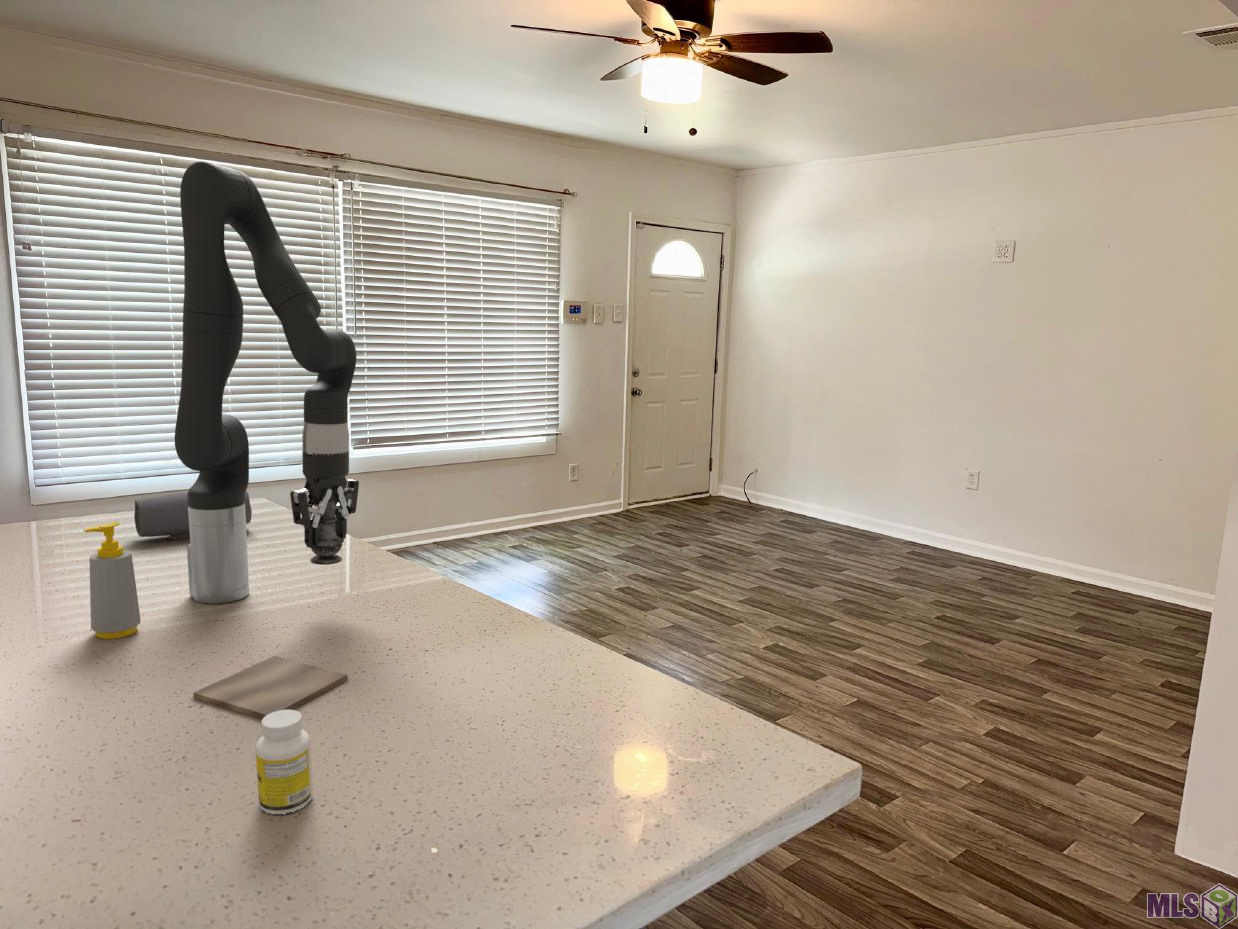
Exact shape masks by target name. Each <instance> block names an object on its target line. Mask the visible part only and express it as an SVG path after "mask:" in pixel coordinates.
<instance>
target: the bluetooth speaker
mask: <svg viewBox="0 0 1238 929" xmlns="http://www.w3.org/2000/svg"><path fill="white" fill-rule="evenodd" d="M187 494H188V492H184V493H175V494H167V495H161V496H151V497H145V498H142V499H141V498H140V499H137V500H135V501H134V512H133V513H134V514H133V516H134V517H133V518H134V524H135V529H136V533H137V535H138V536H139V537H140V538H141V537H142V538H144V537H145V538H150V537H153V538H154V537H167V536H168V537H169V538H170V539H171V540H178V539H185V538H186V539H187V538H190V531H189V516H188V500H187ZM252 514H253V513H252V506H251V501H250V495H249V492H248V491H247V490H246V492H245V515H246V525H248V524H250V523H251V520H252Z"/></svg>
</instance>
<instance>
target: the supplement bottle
mask: <svg viewBox="0 0 1238 929" xmlns="http://www.w3.org/2000/svg"><path fill="white" fill-rule="evenodd" d="M260 724H261V735H262V736H261V737H260V738H259V740H257V742H256V745H255V759H256V761H255V762H256V778H257V789H258V790H257V792H258V794H257V795H258V805H259V808H260V807H261V808H260V809H261V811H263V810H264V811H265V812H268V813H272V814H273V813H274V814H283V813H288V812H292V811H295V810H298V809H300V808H301V807H303V806H305V805H306V804H307V803H308V802H309V801H310V802H311V800H312V799H313V794H314V793H313V790H314V789H313V774H312V773H313V772H312V768H313V767H312V752H311V751H312V749H311V737H310V735H309V734H308V732H307V731H306V730H304V729H303V714H302V713H301V712H300V711H298V710H296V709H293V710H280V711H275V712H273V713H270V714H268V715H267V716H265V717H264V718H263V719H261V723H260ZM311 798H312V799H311ZM310 802H309V803H310ZM309 803H308V804H309ZM308 804H307V805H308ZM307 805H306V806H307ZM306 806H305V807H306ZM303 808H304V807H303ZM300 810H301V809H300ZM264 811H263V812H264ZM298 811H299V810H298ZM265 812H264V813H265ZM268 813H267V814H268ZM272 814H271V815H272Z"/></svg>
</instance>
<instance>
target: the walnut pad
mask: <svg viewBox="0 0 1238 929" xmlns="http://www.w3.org/2000/svg"><path fill="white" fill-rule="evenodd" d="M348 679H349V678H348V674H346V673H342V672H339V671H336V670H331V669H327V668H323V667H322V666H321V667H320V666H316V665H313V664H308V663H304V662H301V661H298V660H294V659H290V658H285V657H281V656H279V655H273V656H270V657H268V658H266V659H264V660H262V661H260V662H257V663H255V664H252V665H251V666H249V667H247V668H245V669H242V670H239V671H238V672H236V673H233V674H231V675H229V676H227V677H225V678H223V679H220V680H218V681H216V682H213V683H211V684H210V685H209V684H208V685H207V686H205V687H203V688H201V689H198V690H196V691H193V699H196V700H199V701H202V702H205V703H209V704H212V705H213V706H214V705H215V706H219V707H222V708H224V709H228V710H230V711H234V712H237V713H241V714H244V715H248V716H250V717H254V718H257V719H260V720H262V719H263V718H264V717H265V716H267V715H268V714H270V713H273V712H275V711H280V710H296V709H297V708H299V707H300V706H303V705H304V704H306V703H308V702H310V701H311V700H313V699H315V698H317V697H319V696H322V694H324V693H326V692H328V691H330V690H332V689H333V688H335V687H337V686H339V685H341V684H342V683H345V682H346V681H348Z"/></svg>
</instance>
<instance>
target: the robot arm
mask: <svg viewBox="0 0 1238 929" xmlns="http://www.w3.org/2000/svg"><path fill="white" fill-rule="evenodd" d="M179 189H180V192H179V193H180V196H179V198H180V199H179V200H180V202H179V203H180V214H181V215H180V216H181V225H182V238H183V252H184V253H183V254H184V256H183V257H184V261H183V264H184V266H183V270H184V275H183V276H184V278H183V279H184V280H183V281H184V284H183V285H184V287H183V288H184V290H183V292H184V293H183V306H182V356H181V357H182V360H181V384H180V392H179V394H180V395H179V401H178V407H177V415H176V421H175V428H174V429H175V430H174V447H175V448H174V449H175V452H176V455H177V458H178V459H179V460H180V462H181V463H182V464H183V465H184V466H185V467H187V469H189V470H192V471H195V472H199V473H198V477H197V479H196V481H195V482H194V483H193V485H192V486H191V487H190V488H189V490H188V491H187V493H188V494H187V500H188V516H189V531H190V537H189V544H188V545H187V546H186V554H187V555H186V556H187V557H186V558H187V570H188V573H187V574H188V585H189V587H188V588H189V596H190V597H192V598H193V600H194V601H195V602H197V603H201V604H210V605H211V604H225V603H231V602H236V601H239V600H242V599H243V598H246V597H247V596H249V594H250V584H249V583H250V582H249V559H248V558H249V557H248V539H247V538H248V536H247V524H246V515H245V492H246V491H247V489H248V487H249V482H250V447H249V446H250V445H249V437H248V433H247V430H246V428H245V426H244V425H243V423H242V422H241V421H240V420H239V419H238V418H237V417H235V416H233V415H231V414H227V413H223V401H224V400H223V399H224V394H225V393H224V392H225V388H226V385H227V383H228V380H229V377H230V375H231V373H232V370H233V368H234V366H235V364H236V362H237V360H238V356H239V353H240V351H241V347H242V342H243V335H244V334H243V332H244V331H243V330H244V303H243V298H242V296H241V293H240V290H239V287H238V285H237V283H236V280H235V278H234V276H233V274H232V271H231V270H230V269H231V268H230V266H229V263H228V261H227V255H226V252H225V227H226V225H229V226H231V227H232V229H233V230H234V231H235V232H236V233H237V234H238V235H239V236H240V238H241V239H242V240H243V242H244V243H245V245H246V246H247V248H248V250H249V252H250V255H251V258H252V264H253V270H254V274H255V279H256V283H257V285H258V287H259V290H260V292H261V294H262V296H263V297H264V299H265V301H267V303H268V305H269V306H270V308H271V309H272V311H273V313H274V314H275V315H276V318H277V319H278V320H279V321H280V323H281V326H282V330H283V333H284V337H285V338H286V341H287V344H288V347H289V350H290V352H291V354H292V356H293V359H294V360H295V362H297V364H298V365H299V366H300V367H302V368H303V369H304V370H306V371H308V372H310V373H314V374H317V377H316V382H315V383H314V384H313V385H312V386H310V387H308V388H307V389H306V390H305V392H304V395H303V426H302V428H303V429H302V437H301V439H302V440H301V441H302V451H301V453H302V456H301V457H302V459H301V460H302V474H303V476H304V477H305V484H304V488H302V489H299V490H295V489H293V490H291V491H290V493H289V494H290V495H289V497H290V503H291V504H290V505H291V511H292V519H293V524H294V525H299V526H302V527H304V530H303V531H304V536H303V537H304V544H305V546H306V547H307V548H309V549H311V548H313V549H314V548H318V546H319V527H317V526H318V523H319V520H320V517H321V515H323V514H324V512H325V509H326V505H327V504H328V503H329V502H331V501H333V502H334V503H335V517H336V518H337V520H336V521H335V531H336V535H337V536H338V537H341V538H343V539H344V540H345V539H346V538H347V532H348V531H347V530H348V529H347V527H348V521H347V520H348V519H349V516H350V515H352V514H355V513H356V511H357V504H358V496H359V487H360V486H359V485H360V482H359V480H357V479H350V478H346V477H347V476H348V475H349V473H350V431H349V424H348V423H349V422H348V421H349V420H348V418H349V417H348V416H349V415H348V413H349V410H348V409H349V407H348V406H349V404H348V398H349V393H350V390H351V389H352V388H351V387H352V384H353V381H354V380H353V379H354V375H355V371H356V367H357V366H356V365H357V349H356V346H355V343H354V341H353V339H352V337H351V336H350V335H349V334H348V333H347V332H345V331H344V330H339V329H322V327H321V325H319V322H318V320H317V319H318V318H319V317H320V316H321V313H322V308H321V307H322V306H321V304H320V302H319V300H318V298H317V296H316V295H315V294H314V292H313V290H312V289H311V288H310V286H309V285H308V283H307V281H306V280H305V278H304V277H303V276H302V274H301V273H300V271H299V269H298V268H297V267H296V265H295V263H294V261H293V260H292V258H291V256H290V254H289V253H288V251H287V249H286V247H285V244H284V243H283V240H282V239H281V236H280V234H279V233H278V231H277V228H276V227H275V224H274V221H273V219H272V217H271V215H270V213H269V211H268V208H267V206H266V204H265V202H264V199H263V197H262V195H261V193H260V191H259V190H258V187H257V185H256V184H255V182H254V181H253V180H252V178H250V176H248V175H247V174H245V172H242V171H240V170H237V169H235V168H231V167H227V166H224V165H220V164H217V163H213V162H210V161H201V160H199V161H195V162H193V163H192V164H190V165H189V166H188V167H187V168H186V169H185V171H184V173H183V176H182V178H181V182H180V188H179ZM349 501H350V502H349ZM313 506H314V507H313ZM312 515H313V516H312ZM311 517H312V518H311Z"/></svg>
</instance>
